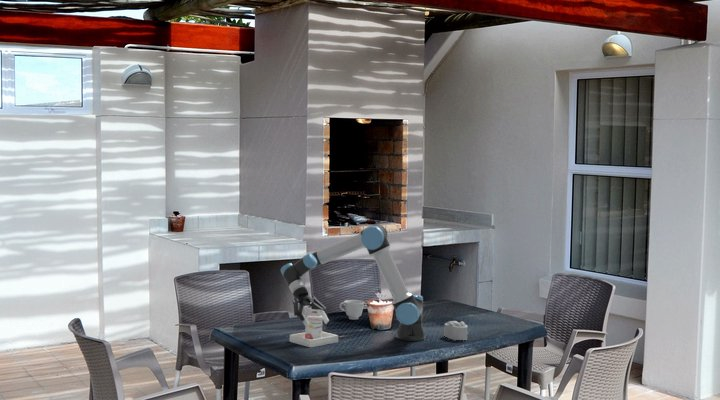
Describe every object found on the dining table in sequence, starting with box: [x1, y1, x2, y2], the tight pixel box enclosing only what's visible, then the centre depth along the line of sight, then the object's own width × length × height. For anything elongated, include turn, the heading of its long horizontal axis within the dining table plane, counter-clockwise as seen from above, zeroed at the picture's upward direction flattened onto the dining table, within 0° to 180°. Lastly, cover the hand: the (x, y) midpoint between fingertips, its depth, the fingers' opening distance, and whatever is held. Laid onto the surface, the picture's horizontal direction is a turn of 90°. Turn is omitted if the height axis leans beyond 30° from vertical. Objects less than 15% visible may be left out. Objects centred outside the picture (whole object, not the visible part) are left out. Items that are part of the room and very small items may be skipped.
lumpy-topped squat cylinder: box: [443, 320, 469, 342], centre depth 477 cm, size 10×13×9 cm
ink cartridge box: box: [304, 308, 323, 339], centre depth 457 cm, size 9×5×15 cm, turn 91°
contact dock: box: [289, 330, 339, 348], centre depth 457 cm, size 16×19×4 cm
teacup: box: [339, 299, 365, 321], centre depth 519 cm, size 12×15×10 cm
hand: (317, 323), depth 455 cm, fingers open, 13 cm apart
